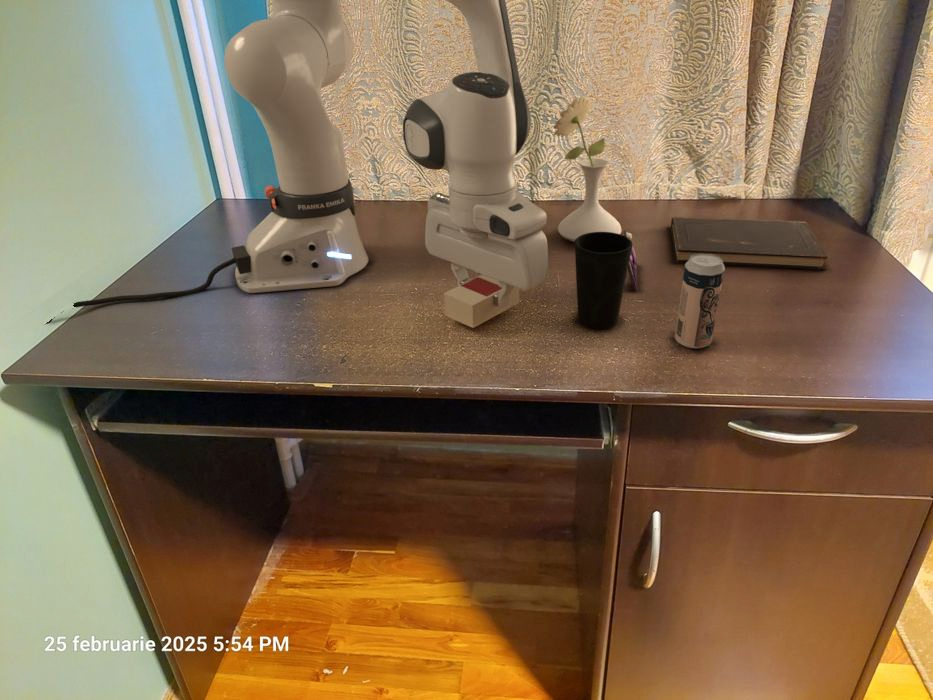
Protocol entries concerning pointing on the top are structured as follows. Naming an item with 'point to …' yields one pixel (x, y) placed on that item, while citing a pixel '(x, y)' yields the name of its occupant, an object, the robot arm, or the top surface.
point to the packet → (476, 301)
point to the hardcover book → (748, 242)
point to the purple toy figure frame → (632, 272)
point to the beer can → (699, 300)
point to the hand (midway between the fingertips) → (483, 298)
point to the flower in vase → (590, 211)
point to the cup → (601, 277)
